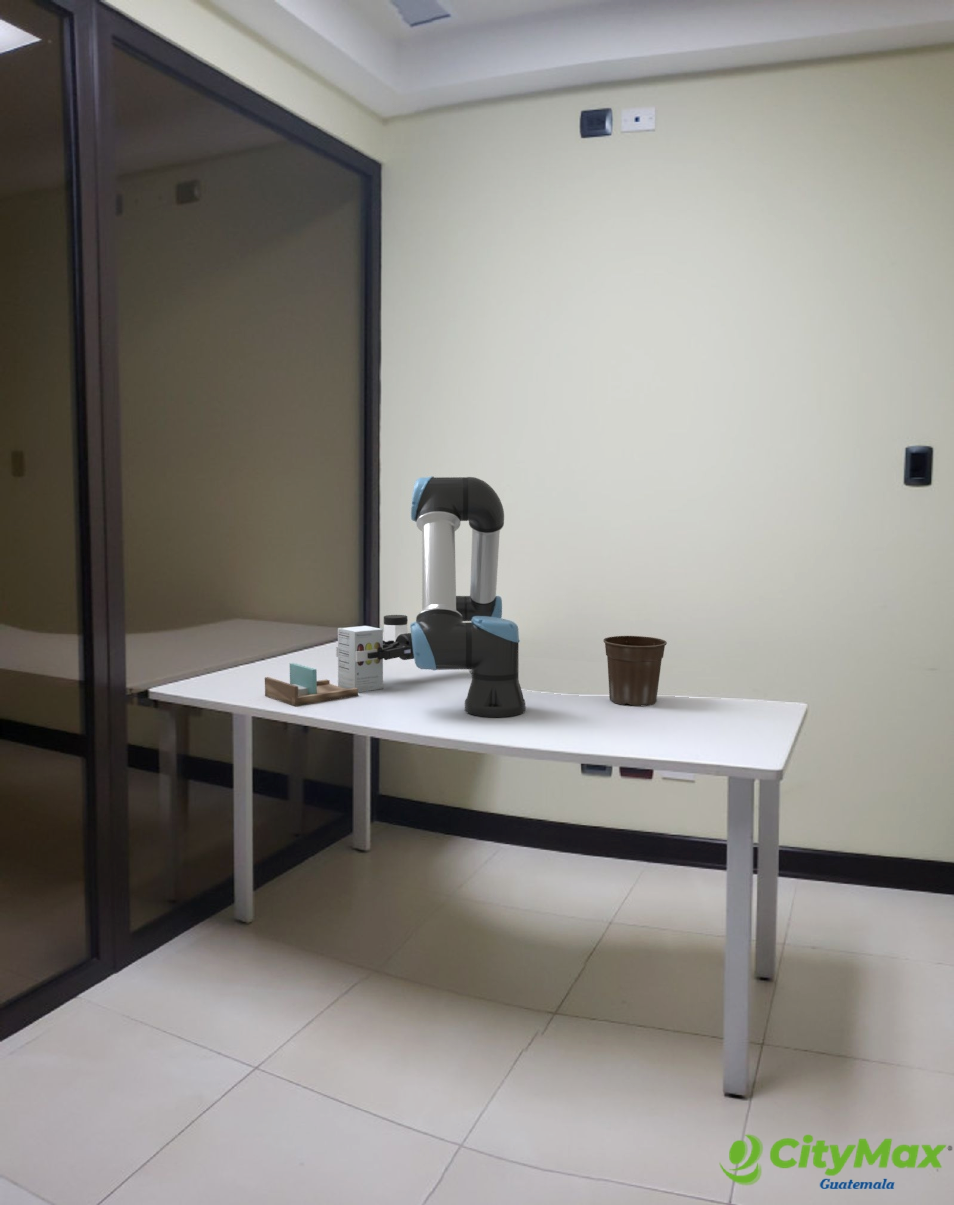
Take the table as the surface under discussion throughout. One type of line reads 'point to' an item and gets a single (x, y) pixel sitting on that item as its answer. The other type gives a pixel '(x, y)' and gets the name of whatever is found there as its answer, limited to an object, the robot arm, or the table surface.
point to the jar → (394, 626)
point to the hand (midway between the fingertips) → (346, 654)
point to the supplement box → (362, 672)
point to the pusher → (303, 679)
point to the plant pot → (634, 668)
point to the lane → (290, 695)
